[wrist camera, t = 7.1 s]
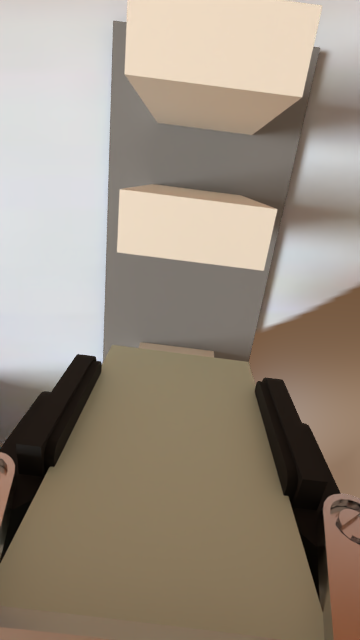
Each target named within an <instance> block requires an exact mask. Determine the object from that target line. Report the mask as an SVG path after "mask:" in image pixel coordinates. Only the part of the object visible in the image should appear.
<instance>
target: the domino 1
mask: <svg viewBox="0 0 360 640" xmlns="http://www.w3.org/2000/svg"><path fill="white" fill-rule="evenodd" d="M321 10H322V6H321V5H314V4H306V3H299V2H291V1H283V0H128V2H127V26H126V50H125V73H124V74H125V76H126V77H127V79H128V80H129V82H130V83H131V85H132V86H133V88H134V89H135V90H136V92H137V93H138V95H139V96H140V98H141V99H142V101H143V102H144V104H145V105H146V107H147V108H148V110H149V111H150V112H151V114H152V115H153V117H154V118H155V120H156V121H157V123H162V124H169V125H177V126H185V127H193V128H201V129H208V130H216V131H224V132H232V133H240V134H247V135H253V134H254V133H255V132H257V131H258V130H259V129H261V128H262V127H263V126H265V125H266V124H267V123H269V122H270V121H271V120H273V119H274V118H275V117H277V116H278V115H279V114H281V113H282V112H283V111H285V110H286V109H287V108H289V107H290V106H291V105H293V104H294V103H295V102H297V101H298V100H299V99H301V98H302V96H303V91H304V87H305V82H306V78H307V73H308V69H309V64H310V60H311V55H312V51H313V46H314V42H315V37H316V33H317V28H318V24H319V19H320V15H321Z"/></svg>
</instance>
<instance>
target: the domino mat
mask: <svg viewBox="0 0 360 640" xmlns="http://www.w3.org/2000/svg"><path fill="white" fill-rule="evenodd" d="M126 26H127V22H120V21H113V48H112V81H111V114H110V148H109V181H108V215H107V248H106V282H105V315H104V348H103V362H104V360H105V358H106V356H107V354H108V352H109V350H110V348H111V346H112V345H118V346H126V347H134V348H139V345H140V342H143V343H152V344H160V345H168V346H176V347H184V348H192V349H200V350H208V351H214V358H222V359H230V360H238V361H246V362H249V357H250V353H251V349H252V345H253V340H254V336H255V332H256V327H257V323H258V318H259V314H260V310H261V305H262V301H263V296H264V292H265V288H266V283H267V279H268V274H269V270H270V266H271V261H272V257H273V253H274V248H275V244H276V239H277V235H278V231H279V226H280V222H281V217H282V213H283V209H284V204H285V200H286V196H287V191H288V187H289V182H290V178H291V174H292V169H293V165H294V160H295V156H296V152H297V147H298V143H299V138H300V134H301V130H302V125H303V121H304V117H305V112H306V108H307V103H308V99H309V95H310V90H311V86H312V81H313V77H314V73H315V68H316V64H317V59H318V55H319V51H320V48H319V47H313V51H312V55H311V60H310V64H309V69H308V73H307V78H306V82H305V87H304V91H303V96H302V98H301V99H299V100H298V101H297V102H295V103H294V104H293V105H291V106H290V107H289V108H287V109H286V110H285V111H283V112H282V113H281V114H279V115H278V116H277V117H275V118H274V119H273V120H271V121H270V122H269V123H267V124H266V125H265V126H263V127H262V128H261V129H259V130H258V131H257V132H255V133H254V134H253V135H247V134H240V133H232V132H224V131H216V130H208V129H201V128H193V127H185V126H177V125H169V124H162V123H157V121H156V120H155V118H154V117H153V115H152V114H151V112H150V111H149V110H148V108H147V107H146V105H145V104H144V102H143V101H142V99H141V98H140V96H139V95H138V93H137V92H136V90H135V89H134V88H133V86H132V85H131V83H130V82H129V80H128V79H127V77H126V76H125V74H124V73H125V50H126ZM151 184H156V185H164V186H171V187H179V188H187V189H195V190H203V191H211V192H219V193H227V194H234V195H242V196H244V197H247V198H249V199H252V200H255V201H257V202H260V203H263V204H265V205H268V206H270V207H273V208H276V209H277V213H276V218H275V222H274V227H273V232H272V236H271V241H270V245H269V250H268V254H267V259H266V263H265V268H264V271H261V270H253V269H245V268H237V267H229V266H221V265H213V264H205V263H197V262H189V261H181V260H173V259H166V258H158V257H150V256H142V255H134V254H126V253H118V252H117V238H118V215H119V191H120V189H124V188H131V187H137V186H144V185H151Z"/></svg>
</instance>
